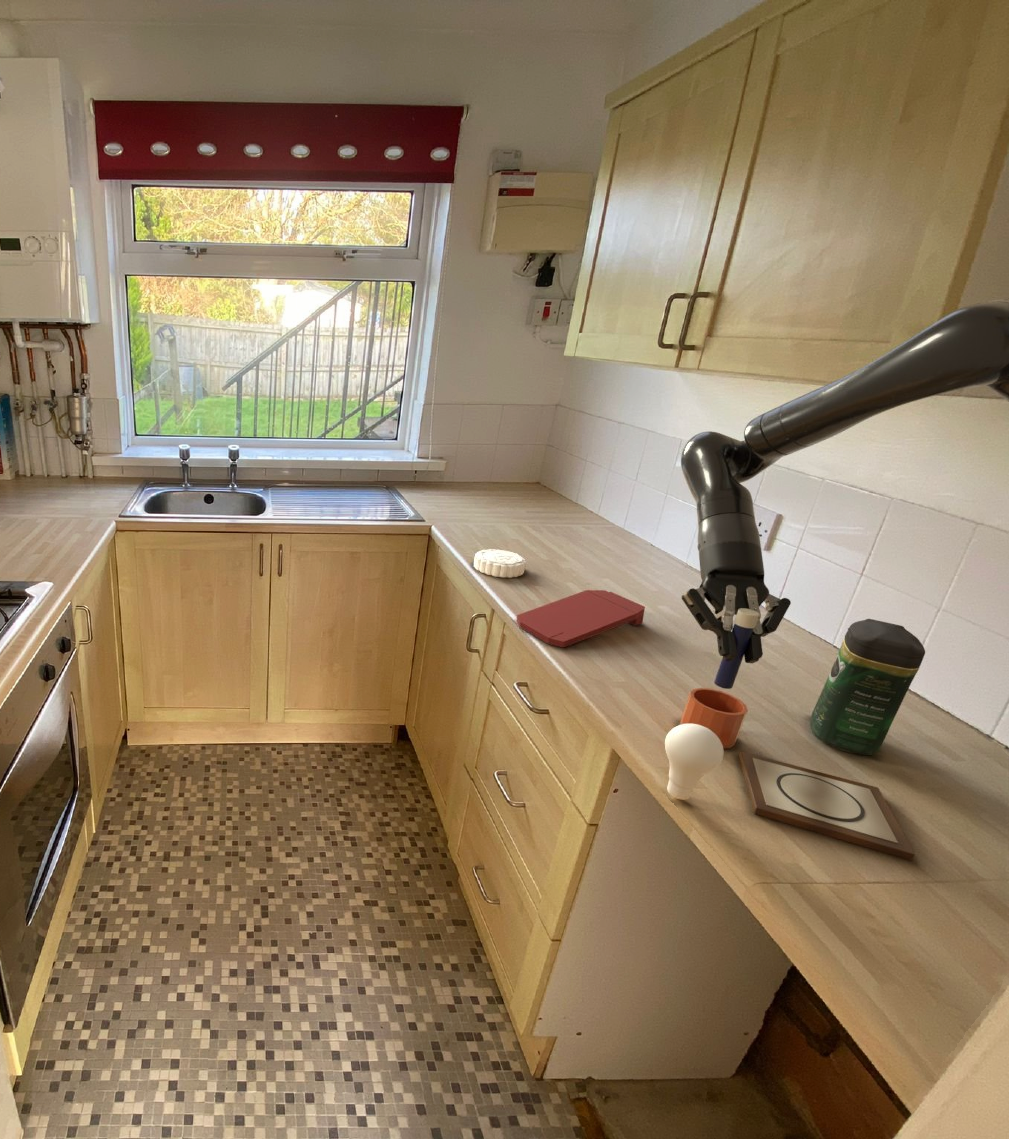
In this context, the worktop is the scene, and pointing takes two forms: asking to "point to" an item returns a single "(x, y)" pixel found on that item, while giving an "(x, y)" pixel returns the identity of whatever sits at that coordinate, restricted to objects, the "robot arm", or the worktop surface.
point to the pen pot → (715, 713)
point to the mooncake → (499, 563)
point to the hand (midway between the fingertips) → (741, 660)
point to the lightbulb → (690, 757)
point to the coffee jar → (866, 686)
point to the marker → (737, 647)
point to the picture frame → (823, 804)
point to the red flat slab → (580, 617)
